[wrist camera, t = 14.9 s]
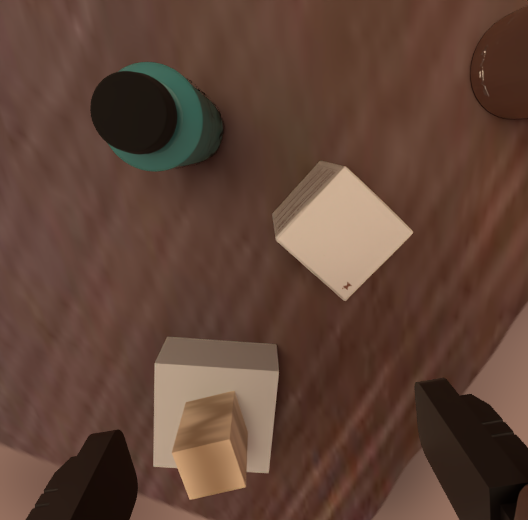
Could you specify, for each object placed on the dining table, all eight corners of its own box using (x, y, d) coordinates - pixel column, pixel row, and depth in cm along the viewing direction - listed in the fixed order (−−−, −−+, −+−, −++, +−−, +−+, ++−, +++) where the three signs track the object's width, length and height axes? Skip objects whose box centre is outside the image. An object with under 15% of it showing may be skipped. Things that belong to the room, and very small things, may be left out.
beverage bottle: (202, 177, 41) (152, 206, 22) (144, 136, 40) (36, 129, 21) (239, 120, 40) (221, 97, 20) (180, 76, 38) (101, 8, 19)
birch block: (234, 390, 41) (229, 439, 34) (248, 432, 42) (245, 487, 36) (185, 402, 41) (171, 452, 34) (200, 443, 43) (189, 499, 36)
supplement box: (372, 208, 42) (418, 234, 30) (320, 260, 43) (344, 306, 31) (320, 157, 41) (346, 162, 28) (268, 212, 42) (272, 241, 30)
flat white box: (276, 342, 46) (279, 371, 40) (267, 434, 49) (268, 473, 44) (167, 335, 46) (154, 363, 40) (165, 428, 49) (153, 466, 43)
